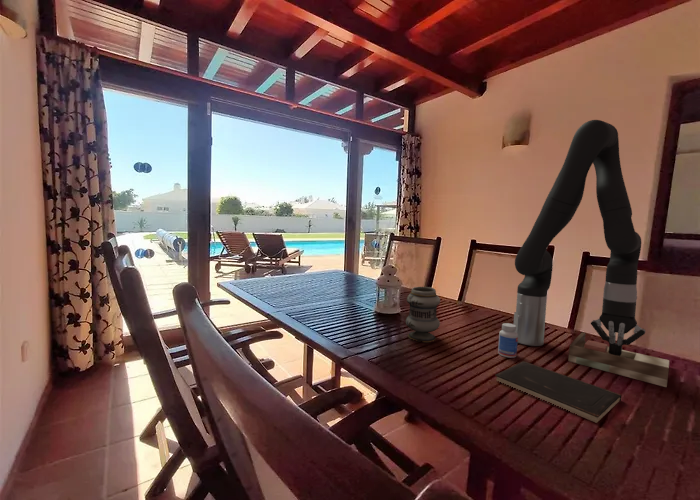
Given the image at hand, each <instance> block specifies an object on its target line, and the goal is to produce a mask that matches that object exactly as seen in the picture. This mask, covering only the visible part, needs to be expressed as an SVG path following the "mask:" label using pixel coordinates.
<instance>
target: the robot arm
mask: <svg viewBox="0 0 700 500" xmlns="http://www.w3.org/2000/svg"><path fill="white" fill-rule="evenodd" d="M619 140H620V139H619V131H618V129H617V128H616V127H615V126H614V125H613V124H611V123H608V122H605V121H603V120H600V119H591V120H587V121H586V122H584V123H583V124H581V126H579V127H578V128H577V130H576V131H575V133H574V135H573V137H572V140H571V142H570V145H569V148H568V151H567V153H566V157H565V159H564V162H563V164H562V167H561V169H560V170H559V173H558V175H557V177H556V178H555V180H554V183H553V185H552V187H551V189H550V191H549V192H548V195H547V197H546V198H545V201H544V203H543V205H542V207H541V210H540V212H539V214H538V216H537V218H536V220H535V222H534V224H533V226H532V227H531V230H530V232H529V234H528V236H527V237H526V239H525V241H524V242H523V244H522V245H521V246H520V248H519V250H518V251H517V253H516V255H515V259H514V266H515V269H516V271H517V272H518V273H519V274H520V275H522V276H524V278H523V279H522V281H521V282H520V283H518V285H517V290H516V293H517V294H516V305H515V311H514V313H513V324H514V325H516V331H515V332H516V333H517V334H518V343H517V344H522V345H526V346H531V347H540V346H543V345H544V341H545V326H546V325H545V324H546V314H547V312H546V311H547V301H548V291H549V289H550V286H551V285H552V275H553V268H554V267H553V266H554V263H553V258H552V255H551V254H550V252H549V251H547V250H548V248H549V246H550V244H551V242H552V241H553V240H554V239H555V237H557V236H558V234H560V233H561V232H562V230H563V229H565V227H567V225H568V224H569V223H570V222H571V221H572V219H573V217H574V216H575V214H576V212H577V210H578V208H579V207H580V204H581V202H582V200H583V197H584V192H585V186H586V180H587V176H588V173H589V171H590V169H591V166H592V165H593V166H594V170H595V176H596V181H595V182H596V183H595V185H596V186H595V188H596V194H595V195H596V200H597V204H598V208H599V212H600V216H601V219H602V223H603V224H602V227H603V235H604V239H605V240H604V241H605V244H606V246H607V248H608V249H609V251H610V255H609V256H610V257H609V262H608V263H607V266H606V270H605V281H604V286H603V294H602V295H603V297H602V306H601V307H602V308H601V314H600V315H599V318H597V319H592V320H591V322H590V325H591V326H592V327H593V329H594V330H595V331H596V333H597V334H598V335H599V337H600V338H601V339H602V340H603V341H606V342H608V347H609V354H613V355H617V356H620V355H621V353H622V350H623V346H625V345H626V346H629V345H631V344H632V343H634V342H636V341H637V340H638V339H640V338H642V337H643V336H644V335H645V333H646V329H645V328H642V327H640V326H639V325H638V322H637V320H636V309H637V299H638V288H637V287H638V286H637V282H638V264H639V261H640V255H641V250H642V237H641V235H640V234H639V233H638V232H637V231H636V229H635V227H634V222H633V220H632V217H633V216H632V215H633V211H632V206H631V202H630V199H629V194H628V192H627V187H626V184H625V179H624V176H623V172H622V166H621V158H620V145H619V143H620V141H619ZM602 325H603V327H605V329H606V330H607V331H608V334H607V333H606V331H605V330H604V329H603V327H602ZM632 329H633V334H631V335H630V336H628V338H625V334H627V333H629V332H630V331H632ZM616 334H617V339H616Z"/></svg>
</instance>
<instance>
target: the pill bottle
mask: <svg viewBox="0 0 700 500" xmlns="http://www.w3.org/2000/svg"><path fill="white" fill-rule="evenodd" d="M515 331H516V325H514V323H508V322H506V323H502V324H501V330H500V331H499V332H498V333H499V334H498V347H497V349H498V350H497V353H498V355H499V356H501V357H504V358H508V359H509V358H511V359H513V358H516V357H517V354H518V344H519V343H518V334H517V333H516V332H515Z"/></svg>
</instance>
